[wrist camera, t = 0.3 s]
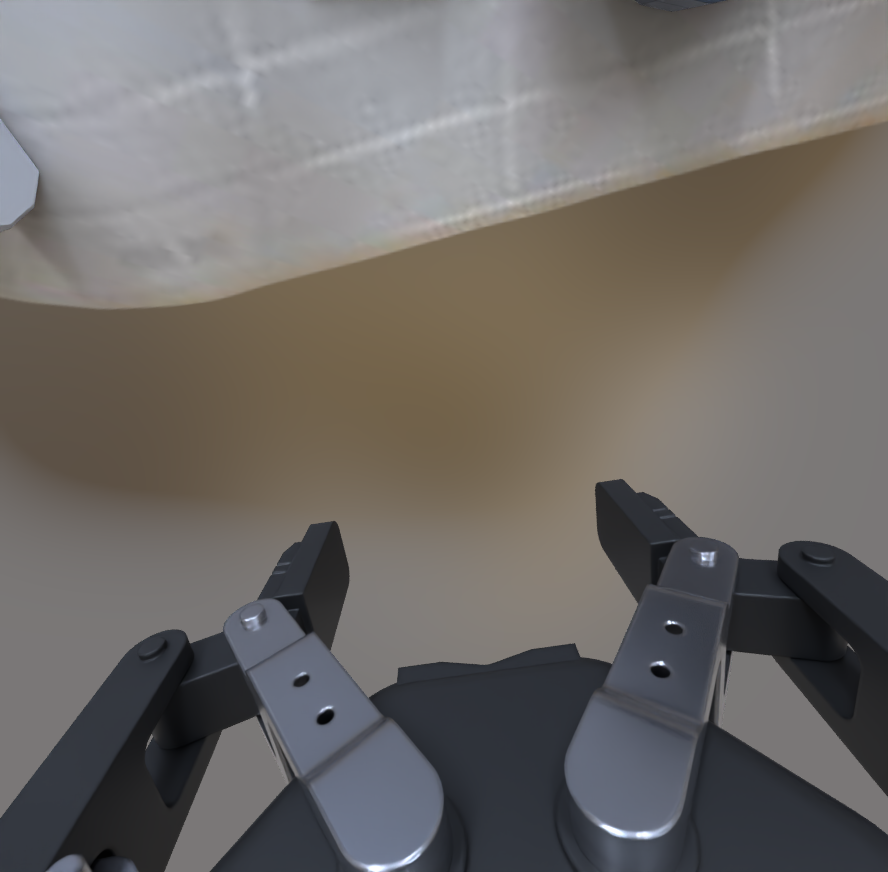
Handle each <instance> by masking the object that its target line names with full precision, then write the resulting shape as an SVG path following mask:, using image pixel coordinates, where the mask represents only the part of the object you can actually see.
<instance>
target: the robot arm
mask: <svg viewBox="0 0 888 872" xmlns="http://www.w3.org/2000/svg"><path fill="white" fill-rule="evenodd" d="M595 488H596V489H595V495H596V513H597V531H598V536H599V540H600V543H601V546H602V548H603V550H604V551H605V553H606V554H607V556H608V558H609V559H610V561H611V562H612V564H613V565H614V567H615V569H616V570H617V572H618V573H619V575H620V576H621V578H622V579H623V581H624V583H625V584H626V586H627V587H628V589H629V590H630V592H631V593H632V595H633V596H634V598H635V600H636V601H637V603H638V606H637V609H636V611H635V613H634V615H633V618H632V620H631V623H630V625H629V627H628V629H627V632H626V634H625V636H624V638H623V641H622V643H621V646H620V648H619V650H618V653H617V655H616V657H615V659H614V662H613V664H611V663H607V662H604V661H600V660H596V659H590V658H582V657H580V655H579V653H578V650H577V648H576V645H575V643H574V644H567V645H559V646H553V647H545V648H538V649H531V650H528V651H525V652H523V653H520V654H517V655H515V656H512V657H509V658H506V659H503V660H501V661H498V662H495V663H492V664H489V665H477V664H463V663H449V662H437V663H430V664H423V665H416V666H408V667H401V668H398V678H397V683H395V684H393V685H390V686H388V687H386V688H384V689H382V690H380V691H379V692H377V693H375V694H374V695H372V696H371V697H369V698H368V697H367V696H366V695H365V693H364V692H363V691H362V690H361V688H360V687H359V686H358V685H357V683H356V682H355V681H354V680H353V679H352V677H351V676H350V675H349V674H348V672H347V671H346V670H345V669H344V668H343V666H342V665H341V664H340V663H339V661H338V660H337V659H336V658H335V656H334V655H333V654H332V653H331V652H330V650H331V647H332V643H333V640H334V636H335V632H336V629H337V625H338V622H339V618H340V615H341V611H342V607H343V604H344V600H345V597H346V593H347V589H348V586H349V566H348V562H347V558H346V554H345V550H344V546H343V542H342V538H341V534H340V530H339V527H338V524H337V523H336V522H335V521H331V522H325V523H318V524H311V525H310V526H309V528H308V530H307V532H306V534H305V536H304V538H303V540H302V542H297V543H294V544H293V545H292V546H291V547H290V548H289V549H287V550H286V551H285V552H284V553H283V554H282V556H281V558H280V560H279V562H278V563H277V566H276V567H275V569H274V571H273V572H272V575H271V576H270V578H269V580H268V581H267V583H266V585H265V587H264V589H263V590H262V592H261V594H260V596H259V598H258V599H257V600H256V601H253V602H250V603H248V604H246V605H244V606H242V607H241V608H239V609H238V610H236V611H235V612H234V613H233V614H231V616H229V618H228V619H227V620H226V622H225V624H224V627H223V632H221V633H219V634H216V635H214V636H210V637H208V638H205V639H202V640H199V641H196V642H194V643H191V644H190V643H189V640H188V638H187V635H186V633H185V632H184V631H181V630H167V631H163V632H160V633H157V634H155V635H152V636H150V637H148V638H146V639H145V640H143V641H141V642H140V643H138V644H137V645H135V646H134V647H133V648H132V649H130V650H129V651H128V652H127V653H126V654H125V656H124V657H123V658H122V659H121V661H120V662H119V663H118V665H117V666H116V667H115V669H114V670H113V671H112V673H111V674H110V675H109V676H108V678H107V679H106V680H105V682H104V683H103V684H102V686H101V687H100V688H99V690H98V691H97V692H96V694H95V695H94V696H93V698H92V699H91V700H90V702H89V703H88V704H87V705H86V707H85V708H84V709H83V711H82V712H81V713H80V715H79V716H78V717H77V719H76V720H75V721H74V722H73V724H72V725H71V726H70V728H69V729H68V730H67V732H66V733H65V734H64V736H63V737H62V738H61V739H60V741H59V742H58V744H57V745H56V746H55V747H54V749H53V750H52V751H51V753H50V754H49V756H48V757H47V758H46V759H45V761H44V762H43V763H42V764H41V766H40V767H39V768H38V770H37V771H36V772H35V774H34V775H33V776H32V778H31V779H30V780H29V781H28V783H27V784H26V785H25V787H24V788H23V789H22V791H21V792H20V794H19V795H18V796H17V797H16V799H15V800H14V801H13V803H12V804H11V805H10V806H9V808H8V809H7V810H6V812H5V813H4V814H3V816H2V817H1V818H0V872H164V871H165V868H166V866H167V864H168V861H169V859H170V856H171V854H172V851H173V849H174V847H175V844H176V842H177V839H178V837H179V834H180V832H181V830H182V827H183V825H184V822H185V820H186V817H187V815H188V813H189V810H190V807H191V805H192V803H193V800H194V798H195V795H196V793H197V791H198V788H199V786H200V783H201V781H202V778H203V776H204V774H205V771H206V769H207V766H208V764H209V761H210V759H211V757H212V754H213V751H214V749H215V747H216V744H217V741H218V740H219V737H220V735H221V732H222V730H223V729H226V728H228V727H231V726H233V725H235V724H238V723H240V722H243V721H245V720H247V719H250V718H252V717H254V716H255V717H256V720H257V722H258V724H259V726H260V728H261V731H262V732H263V735H264V737H265V739H266V741H267V743H268V745H269V747H270V750H271V752H272V754H273V756H274V758H275V760H276V762H277V764H278V767H279V768H280V771H281V773H282V775H283V778H284V780H285V782H286V785H287V786H286V787H285V788H284V789H283V790H282V792H281V793H280V794H279V795H278V796H277V797H276V798H275V799H274V800H273V802H272V803H271V804H270V805H269V806H268V807H267V808H266V809H265V810H264V812H263V813H262V814H261V815H260V816H259V817H258V818H257V819H256V821H255V822H254V823H253V824H252V825H251V826H250V827H249V828H248V829H247V831H246V832H245V833H244V834H243V835H242V836H241V837H240V838H239V839H238V841H237V842H236V843H235V844H234V845H233V846H232V847H231V849H230V850H229V851H228V852H227V853H226V854H225V855H224V856H223V857H222V858H221V860H220V861H219V862H218V863H217V864H216V866H214V867H213V869H212V870H211V871H210V872H888V835H887V834H886V833H885V832H883V831H882V830H881V829H880V828H878V827H877V826H876V825H875V824H873V823H872V822H870V821H869V820H867V819H866V818H864V817H863V816H861V815H860V814H858V813H857V812H856V811H854V810H852V809H851V808H849V807H847V806H846V805H844V804H843V803H841V802H839V801H838V800H836V799H835V798H833V797H831V796H830V795H828V794H826V793H825V792H823V791H822V790H820V789H818V788H817V787H815V786H814V785H812V784H810V783H809V782H807V781H805V780H804V779H802V778H801V777H799V776H797V775H796V774H794V773H793V772H791V771H789V770H788V769H786V768H785V767H783V766H781V765H780V764H778V763H776V762H775V761H773V760H771V759H770V758H768V757H767V756H765V755H764V754H762V753H760V752H759V751H757V750H755V749H754V748H752V747H751V746H749V745H747V744H746V743H744V742H742V741H741V740H739V739H738V738H736V737H735V736H733V735H731V734H730V733H728V732H726V731H725V730H723V729H722V722H723V714H724V707H725V701H726V695H727V689H728V683H729V677H730V670H731V664H732V658H733V651H737V652H745V653H755V654H763V655H772V656H773V658H774V659H775V660H776V662H777V663H778V664H779V665H780V667H781V668H782V669H783V670H784V671H785V673H786V674H787V675H788V676H789V677H790V679H791V680H792V681H793V682H794V683H795V685H796V686H797V687H798V688H799V689H800V691H801V692H802V693H803V694H804V696H805V697H806V698H807V699H808V701H809V702H810V703H811V704H812V705H813V707H814V708H815V709H816V710H817V711H818V713H819V714H820V715H821V716H822V718H823V719H824V720H825V721H826V722H827V723H828V725H829V726H830V727H831V728H832V730H833V731H834V732H835V733H836V735H837V736H838V737H839V738H840V739H841V741H842V742H843V743H844V744H845V745H846V747H847V748H848V749H849V750H850V752H851V753H852V754H853V755H854V756H855V757H856V759H857V760H858V761H859V762H860V764H861V765H862V766H863V767H864V769H865V770H866V771H867V772H868V773H869V775H870V776H871V777H872V778H873V779H874V780H875V782H876V783H877V784H878V785H879V787H880V788H881V789H882V790H883V792H884V793H885V794H886V795H887V796H888V581H887V580H886V579H884V578H883V577H882V576H880V575H879V574H877V573H876V572H874V571H873V570H872V569H870V568H869V567H867V566H866V565H865V564H863V563H862V562H860V561H859V560H857V559H856V558H855V557H853V556H852V555H850V554H849V553H847V552H845V551H843V550H841V549H839V548H837V547H834V546H831V545H828V544H823V543H818V542H812V541H811V542H810V541H794V542H789V543H786V544H784V545H782V546H781V547H780V549H779V554H778V561H774V560H773V561H772V560H754V559H742V558H739V556H738V553H737V552H736V551H735V550H734V549H733V548H732V547H731V546H729V545H727V544H726V543H724V542H721V541H718V540H715V539H711V538H705V537H698V536H697V535H696V534H695V533H694V532H693V531H692V530H690V528H688V527H687V526H686V525H685V524H684V523H683V522H682V521H681V520H680V519H679V518H678V517H676V516H675V514H674V513H673V512H672V511H671V510H668V508H667V507H666V506H665V505H664V504H663V503H662V502H661V501H660V500H659V499H658V498H655V497H653V496H651V495H649V494H646V493H644V492H641V493H636V492H635V491H634V490H633V489H632V488H631V487H630V486H629V485H628V484H627V483H626V482H625V481H624V480H623V479H619V480H612V481H605V482H599V483H597V484H596V487H595ZM848 643H849V644H850V646H851V647H852V648H853V649H854V651H855V652H854V651H853V650H852V649H851V648H850V647H848V646H847V644H848ZM151 734H152V735H153V738H152V740H151V742H150V744H149V745H148V747H147V749H146V746H147V742H148V740H149V738H150V736H151ZM145 750H146V751H145Z"/></svg>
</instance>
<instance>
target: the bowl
mask: <svg viewBox="0 0 888 872" xmlns="http://www.w3.org/2000/svg"><path fill="white" fill-rule="evenodd" d="M635 1H636V2H638V3H639V4H641V5H643V6H648V7H652V8H657V9H661V10H666V11H671V12H672V11H679V10H683V9H688V8H693V7H698V6H703V5H708V4H712V3H717V2H721V1H726V0H635Z"/></svg>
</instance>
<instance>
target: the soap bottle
mask: <svg viewBox="0 0 888 872" xmlns="http://www.w3.org/2000/svg"><path fill="white" fill-rule="evenodd" d="M38 179H39V170H38V169H37V168H36V166H35V165H34V164H33V162H32V161H31V160H30V158H29V157H28V155H27V154H26V153H25V151H24V150H23V149H22V147H21V146H20V145H19V143H18V142H17V140H16V139H15V138H14V136H13V135H12V134H11V132H10V131H9V130H8V128H7V127H6V125H5V124H4V123H3V121H2V120H1V119H0V232H2V231H5V230H8V229H10V228H12V227H13V226H14V225H15V224H16V223H17V222H18V221H19V220H20V219H22V218H23V217H24V216H25V215H26V214H27V213H28V212H29V211H31V210H32V209H33V208H34V206H35V199H36V192H37V186H38Z"/></svg>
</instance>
